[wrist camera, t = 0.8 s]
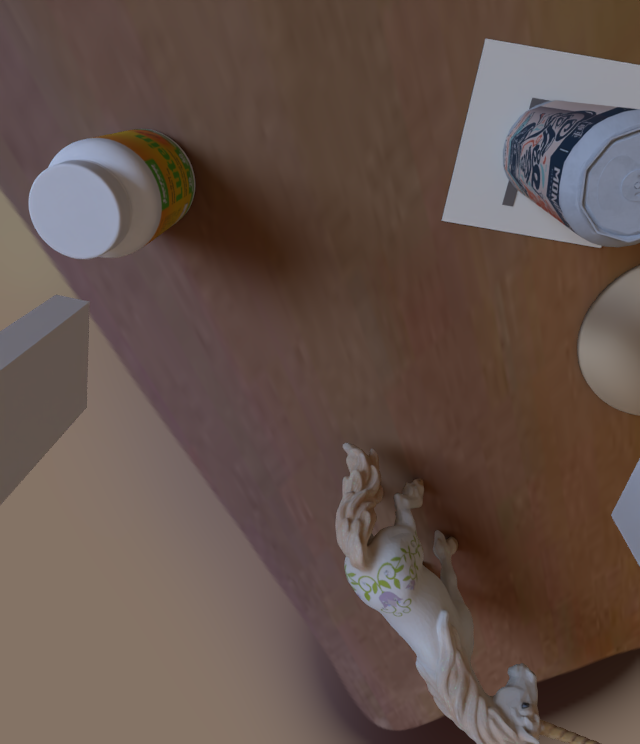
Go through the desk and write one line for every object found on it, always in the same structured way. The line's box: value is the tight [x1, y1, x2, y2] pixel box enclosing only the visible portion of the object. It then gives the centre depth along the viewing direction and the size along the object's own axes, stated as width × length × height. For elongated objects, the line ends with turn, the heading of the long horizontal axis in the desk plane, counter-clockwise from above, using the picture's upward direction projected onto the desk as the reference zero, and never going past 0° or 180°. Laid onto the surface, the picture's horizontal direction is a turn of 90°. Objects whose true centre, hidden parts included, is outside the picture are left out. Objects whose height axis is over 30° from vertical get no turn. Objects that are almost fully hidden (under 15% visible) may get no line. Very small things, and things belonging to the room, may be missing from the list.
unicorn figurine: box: [335, 443, 600, 744], centre depth 37 cm, size 7×20×13 cm, turn 50°
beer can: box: [503, 100, 640, 247], centre depth 26 cm, size 5×5×12 cm
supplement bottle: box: [29, 129, 195, 259], centre depth 30 cm, size 5×5×10 cm
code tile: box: [442, 39, 640, 248], centre depth 32 cm, size 9×9×1 cm
